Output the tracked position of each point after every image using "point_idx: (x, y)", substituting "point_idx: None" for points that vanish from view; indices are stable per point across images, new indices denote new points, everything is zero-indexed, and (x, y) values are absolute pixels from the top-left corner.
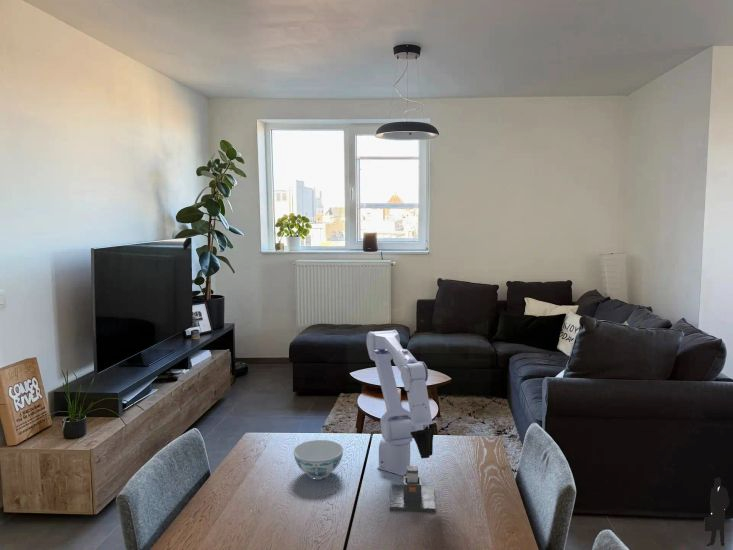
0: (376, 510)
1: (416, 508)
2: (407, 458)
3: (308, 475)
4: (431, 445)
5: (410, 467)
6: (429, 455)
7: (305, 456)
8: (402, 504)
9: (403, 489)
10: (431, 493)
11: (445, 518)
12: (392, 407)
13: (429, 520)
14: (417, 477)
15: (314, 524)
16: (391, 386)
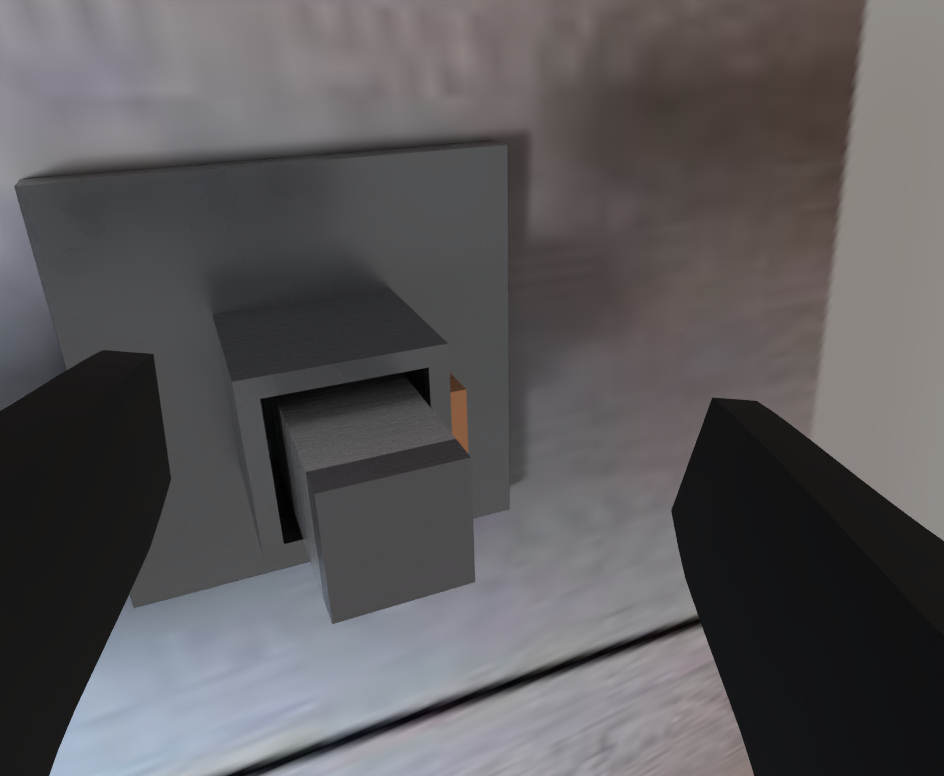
0: (503, 570)
1: (506, 313)
2: None
3: None
4: (39, 478)
5: (386, 569)
6: (760, 413)
7: None
8: (469, 431)
9: (200, 486)
10: (216, 200)
11: (578, 42)
12: None
13: (608, 186)
14: (437, 422)
15: (647, 771)
16: None
